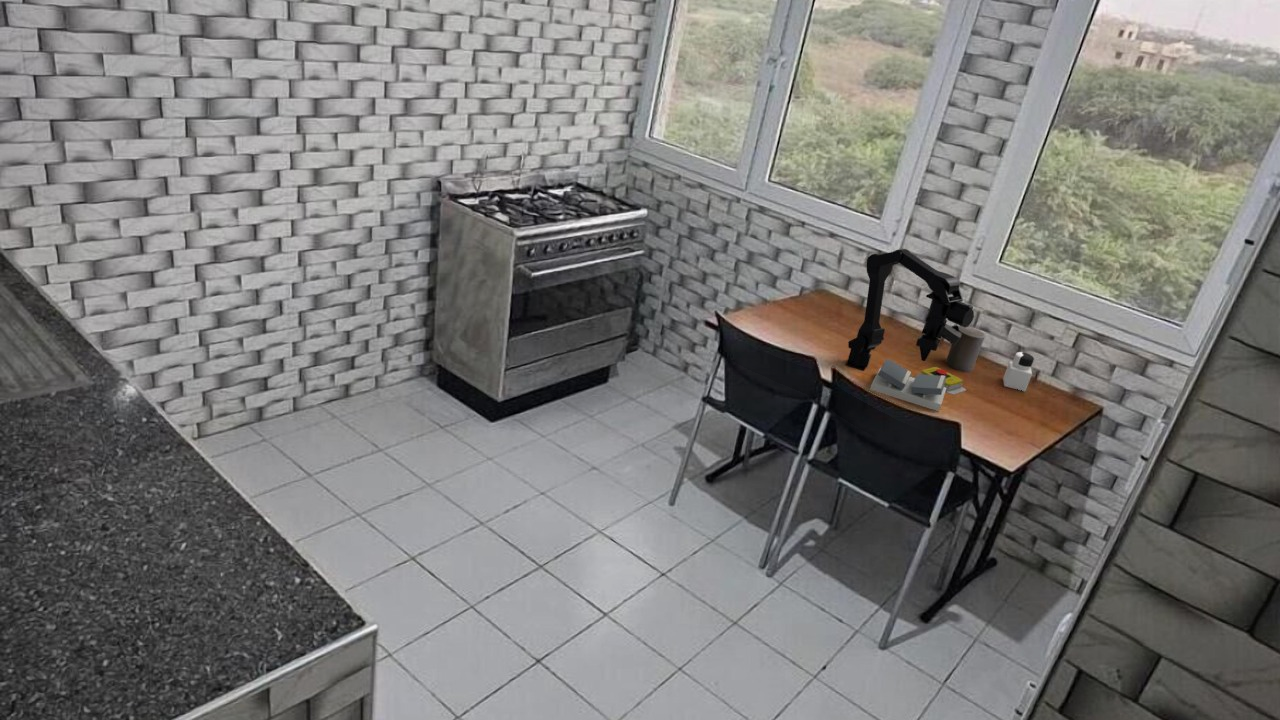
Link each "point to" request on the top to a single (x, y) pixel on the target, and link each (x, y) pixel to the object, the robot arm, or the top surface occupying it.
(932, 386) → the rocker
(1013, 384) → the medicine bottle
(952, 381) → the emergency button
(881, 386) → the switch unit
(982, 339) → the pillar candle
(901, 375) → the block
